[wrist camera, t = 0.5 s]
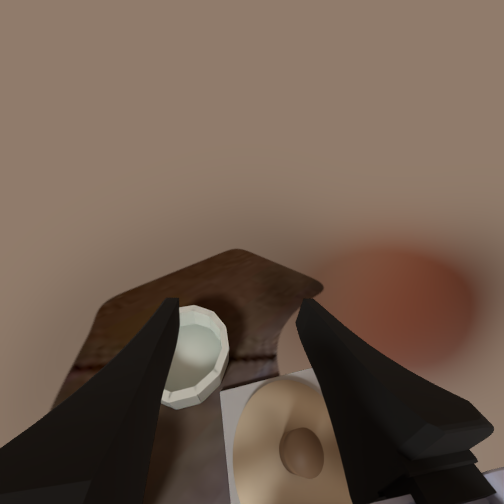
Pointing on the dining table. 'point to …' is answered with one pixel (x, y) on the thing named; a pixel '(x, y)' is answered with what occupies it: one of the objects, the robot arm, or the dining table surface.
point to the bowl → (196, 358)
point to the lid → (287, 449)
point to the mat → (235, 404)
